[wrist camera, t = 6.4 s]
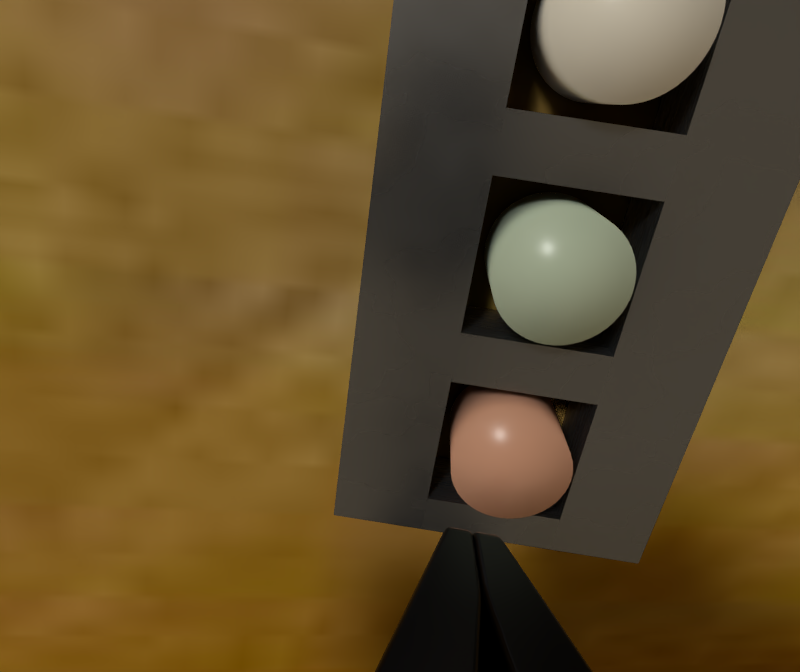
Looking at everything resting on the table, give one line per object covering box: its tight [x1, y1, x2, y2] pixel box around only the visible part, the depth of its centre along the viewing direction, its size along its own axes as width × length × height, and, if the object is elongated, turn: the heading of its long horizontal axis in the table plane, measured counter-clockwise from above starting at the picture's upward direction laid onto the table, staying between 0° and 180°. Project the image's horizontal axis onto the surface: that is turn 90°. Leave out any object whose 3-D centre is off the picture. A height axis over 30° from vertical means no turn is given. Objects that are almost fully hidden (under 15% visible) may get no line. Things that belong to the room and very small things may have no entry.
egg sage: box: [484, 192, 636, 345], centre depth 15 cm, size 4×4×3 cm
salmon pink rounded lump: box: [450, 385, 573, 519], centre depth 18 cm, size 4×4×3 cm
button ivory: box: [530, 0, 726, 105], centre depth 13 cm, size 4×4×3 cm
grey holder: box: [334, 0, 800, 563], centre depth 16 cm, size 10×19×2 cm, turn 172°
